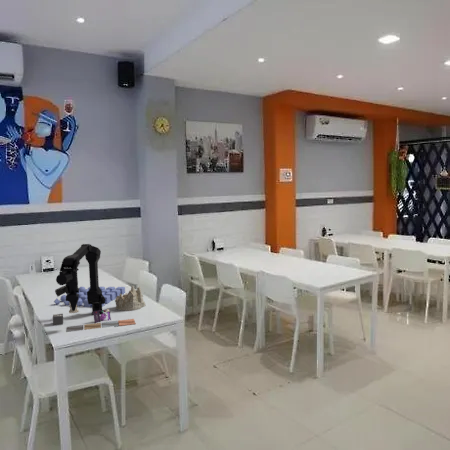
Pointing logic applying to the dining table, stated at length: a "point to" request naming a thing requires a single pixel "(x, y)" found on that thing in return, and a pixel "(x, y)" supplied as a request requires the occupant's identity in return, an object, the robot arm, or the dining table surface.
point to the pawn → (73, 311)
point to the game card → (103, 316)
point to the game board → (98, 325)
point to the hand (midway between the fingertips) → (73, 309)
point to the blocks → (108, 294)
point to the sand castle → (130, 300)
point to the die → (57, 319)
